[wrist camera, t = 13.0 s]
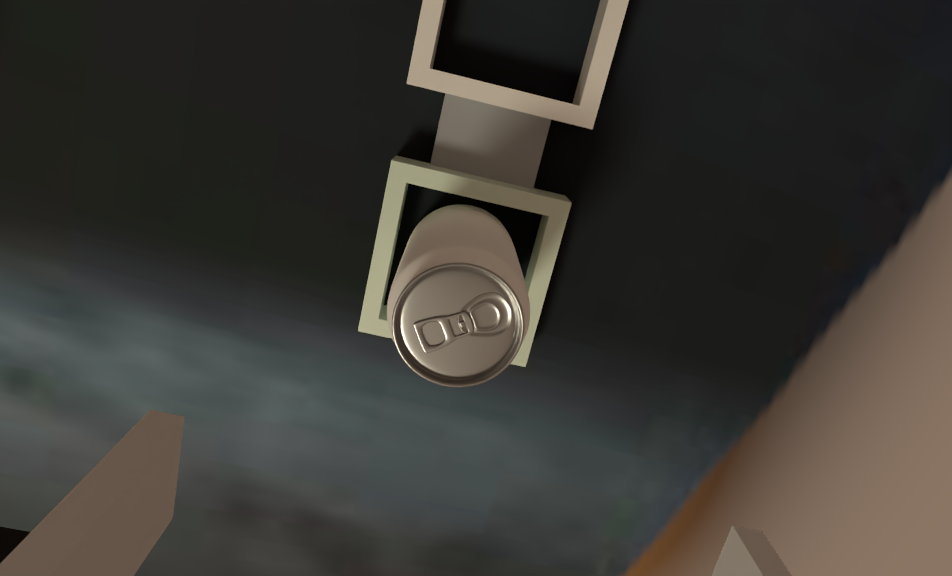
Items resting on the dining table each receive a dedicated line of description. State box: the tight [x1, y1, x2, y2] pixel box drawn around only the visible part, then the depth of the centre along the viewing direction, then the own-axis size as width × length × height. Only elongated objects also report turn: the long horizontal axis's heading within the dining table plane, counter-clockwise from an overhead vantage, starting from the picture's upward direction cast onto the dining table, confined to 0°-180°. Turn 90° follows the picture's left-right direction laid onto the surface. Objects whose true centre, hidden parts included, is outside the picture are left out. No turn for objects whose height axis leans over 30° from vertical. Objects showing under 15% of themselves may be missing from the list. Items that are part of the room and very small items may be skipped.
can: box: [387, 204, 530, 387], centre depth 33 cm, size 6×6×12 cm
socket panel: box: [358, 0, 629, 367], centre depth 36 cm, size 24×10×2 cm, turn 167°
